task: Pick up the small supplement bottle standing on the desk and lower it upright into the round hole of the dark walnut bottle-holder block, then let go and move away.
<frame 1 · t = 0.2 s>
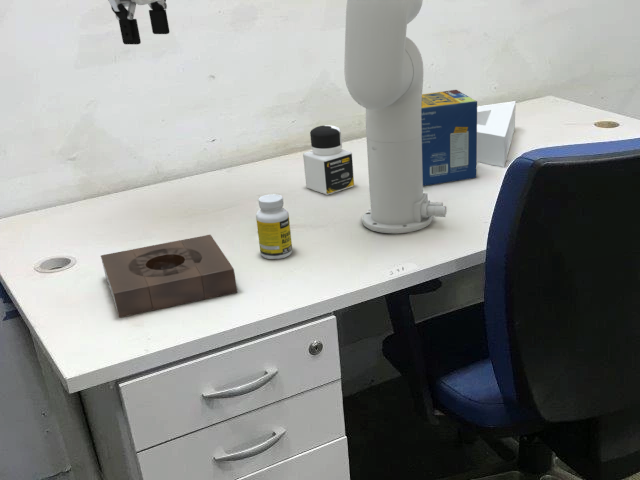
hand: (147, 38, 148), 31 cm above the table, tool pointing down, fingers open, 9 cm apart
holder block: (170, 285, 134), on the table
supplement bottle: (277, 254, 142), on the table
protein box: (433, 177, 173), on the table
medicine bottle: (330, 188, 171), on the table
triangle block: (482, 142, 193), on the table
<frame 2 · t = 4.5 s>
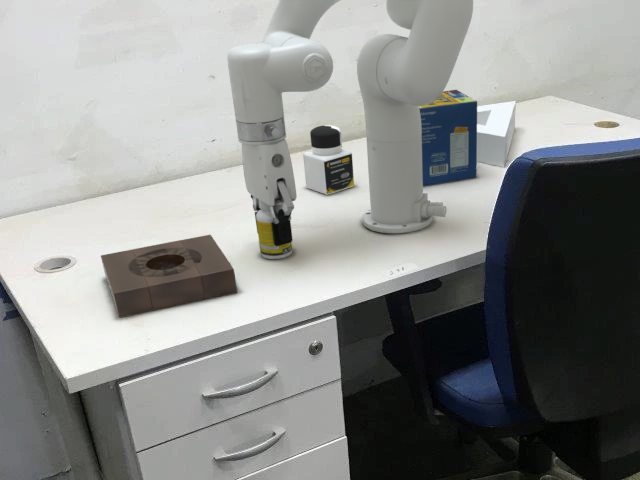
hand: (274, 237, 141), 3 cm above the table, tool pointing down, fingers closed on supplement bottle, 5 cm apart
supplement bottle: (277, 254, 142), on the table, touching gripper
everything else where it was.
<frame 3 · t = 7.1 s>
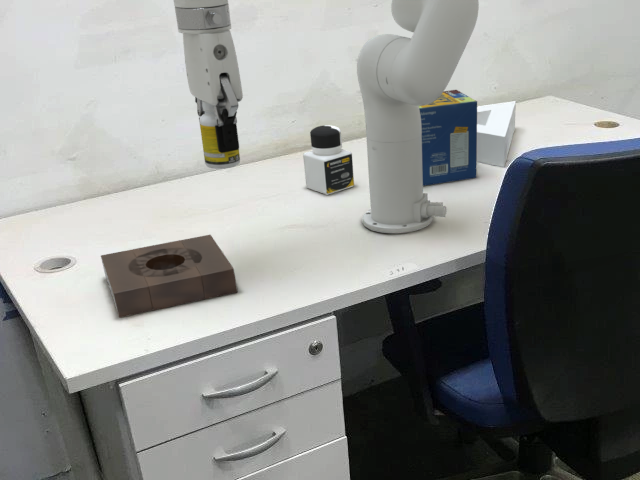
hand: (220, 145, 129), 20 cm above the table, tool pointing down, fingers closed on supplement bottle, 5 cm apart
supplement bottle: (223, 165, 130), point 17 cm above the table, touching gripper
everything else where it was.
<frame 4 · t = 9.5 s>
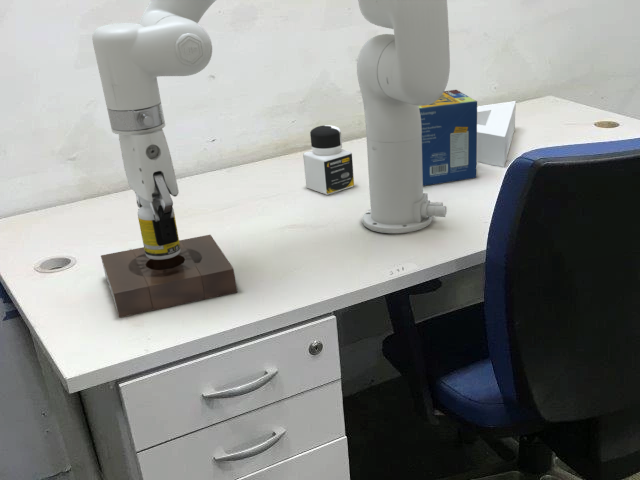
hand: (160, 236, 129), 8 cm above the table, tool pointing down, fingers closed on supplement bottle, 5 cm apart
supplement bottle: (164, 255, 131), point 5 cm above the table, touching gripper
everything else where it was.
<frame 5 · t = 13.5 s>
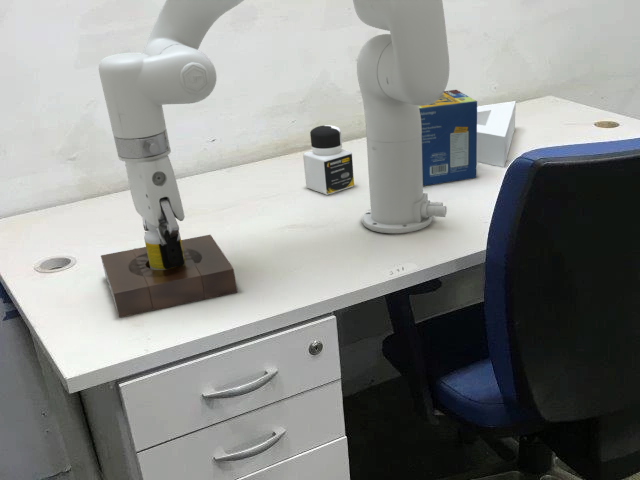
hand: (166, 258, 131), 4 cm above the table, tool pointing down, fingers closed on supplement bottle, 5 cm apart
supplement bottle: (170, 277, 133), point 1 cm above the table, touching gripper
everything else where it was.
when the fingers open (5 cm above the table, at t = 14.8 s): supplement bottle drops 2 cm, resting in holder block.
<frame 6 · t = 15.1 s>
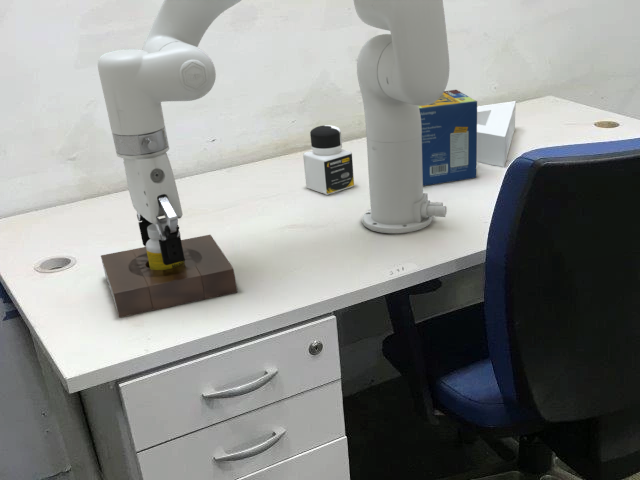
hand: (163, 252, 131), 6 cm above the table, tool pointing down, fingers open, 8 cm apart
supplement bottle: (171, 285, 134), resting in holder block
everything else where it was.
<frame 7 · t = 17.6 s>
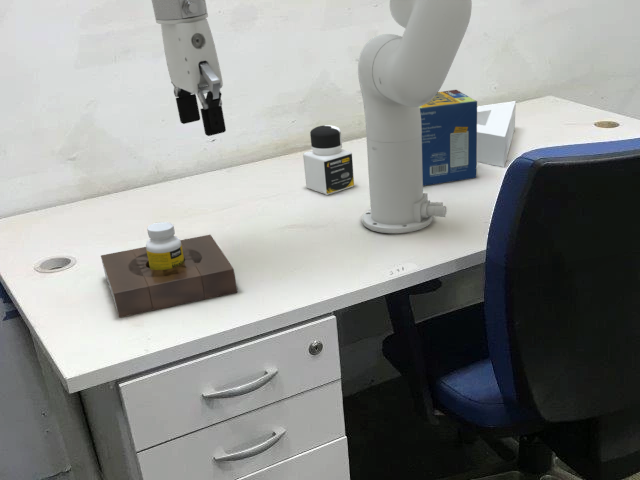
hand: (203, 127, 131), 22 cm above the table, tool pointing down, fingers open, 9 cm apart
nothing on the table moved.
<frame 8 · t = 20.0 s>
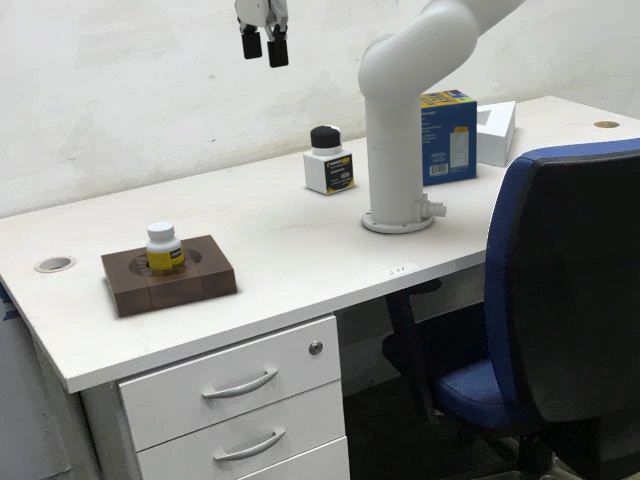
hand: (266, 62, 139), 28 cm above the table, tool pointing down, fingers open, 9 cm apart
nothing on the table moved.
at the end: supplement bottle 0.2 cm off-centre in the holder block, point 0.0 cm above the holder block's base; supplement bottle tilted 0°; the gripper is holding nothing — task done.
